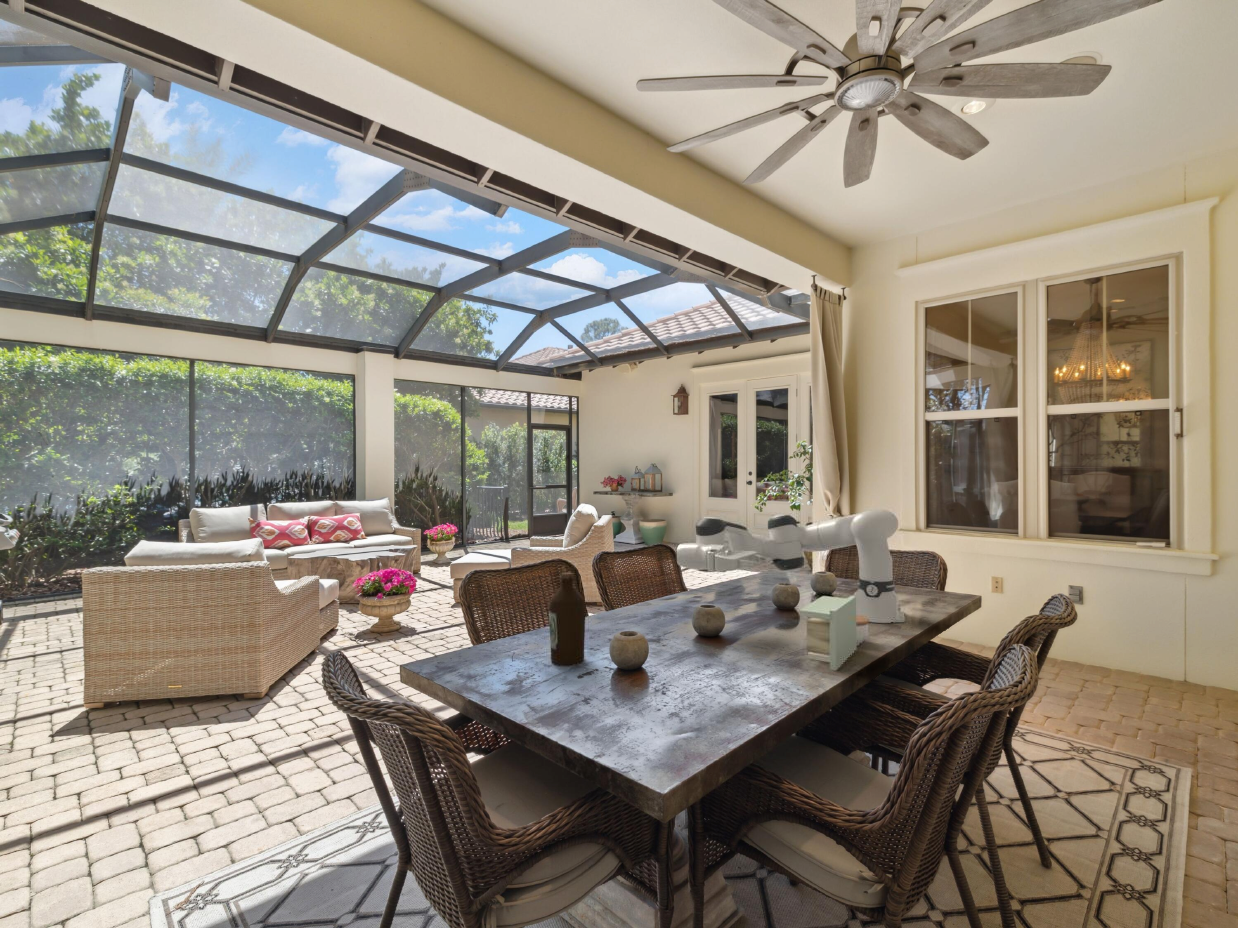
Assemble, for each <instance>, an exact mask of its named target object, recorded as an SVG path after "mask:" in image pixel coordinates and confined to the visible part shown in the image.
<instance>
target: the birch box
mask: <svg viewBox="0 0 1238 928" xmlns="http://www.w3.org/2000/svg"><path fill="white" fill-rule="evenodd" d="M809 652H813V653H819V654H824V655H830V620H828V619H821V618H814V617H810V618H809V619H808V620H806V655H808V653H809Z"/></svg>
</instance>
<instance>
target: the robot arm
mask: <svg viewBox="0 0 1238 928" xmlns="http://www.w3.org/2000/svg"><path fill="white" fill-rule="evenodd" d="M799 524H801V522H800V521H798V520H797V519H796V518H795V517H793V516H792V515H789V514H783V513H782V514H776V515H774V516H773V517H771V518H770V519H768V520H767V530H768V535H769V537H767V536H765V535H762V534H758V533H757V534H756V533H750V532H749V530H748V528H747V527H746V526H744V525H742V524H738V523H733V522H730V521H726V520H722V519H721V518H718V517H715V516H703V517H701V518H700V519H699V520H698V521H697V522H696V524H695V534H696V535H695V536H696V537H695V538H696V539H695V540H696V541H695V542H688V543H687V542H685V543H684V542H683V543H680V544H678V546H677V547H676V550H675V552H676V553H675V560H676V563H677V565H678V566H679V567H683V568H685V569H690V570H696V571H699V572H706V573H726V572H732V571H737V570H739V569H742V568H754V567H756V564H757V563H760V564H766V563H768V560H771V561H772V562H771V563H770V564H771V565H774V567H776V569H778V570H779V571H782V572H785V573H786V572H788V573H792V572H796V571H799V570H800V569H801V568H803V567H804V565H805V557H804V552H823V551H824V552H825V551H830V550H837V549H841V548H847V547H852V546H856V549H857V554H858V571H859V572H858V575H859V576H858V578H857V587H858V589H857V590H856V591H855V592H854V593H853V596H856V615H861V616H864V617H866V618H868V619H869V623H877V624H879V623H880V624H889V623H890V624H892V623H891V622H893V623H906V619H905V611H904V610H902V609H901V607H900V606H899V604H898V600H899V598H898V596H897V594H896V592H895V585H896V584H895V581H894V577H893V573H894V572H893V557H892V554H891V551H890V549H889V544H888V543H889V542H888V539H889V538H891V537H892V536H893V535H894V534H895V533H896V532H897V530H898V528H899V521H898V518H897V516H896V515H895V514H894V513H893V512H891V511H889V510H886V509H882V508H878V509H872V510H866V511H865V510H864V511H862V512H860V513H856V514H855V513H854V514H850V515H845V516H838V517H835V518H831V519H826V520H822V521H818V522H814V523H811V524H808V525H805V526H799ZM725 535H727V538H728V544H729V546H728V545H725ZM803 551H804V552H803Z"/></svg>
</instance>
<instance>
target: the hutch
mask: <svg viewBox="0 0 1238 928" xmlns="http://www.w3.org/2000/svg"><path fill="white" fill-rule="evenodd" d="M798 613H799V616H801V617H809V618H816V619H823V620H830V655H824V654H819V653H813V652H809V653H808V656H807V659H809V660H814V661H820V662H825V663H829V670H830V669H831V670H830V671H834V670H836V671H837V670H839V668H840V667H841V666H842V665H843V664H844V663H845V662H846V661H847V660H848V659H849V658H850V657H851V656H852V655H853V654H854V653H855V652H856V651H858V650H857V649H858V648H857V646H858V645H857V635H856V596H854V595H850V596H849V597H847V598H844V597H835V596H827V595H822V596H821V597H819V598H817V599H815V600H813V601H812V602H810V603H809V604H807V605H806V606H804V607H802V608H801V609H799V612H798ZM855 650H856V651H855ZM854 651H855V652H854ZM852 653H853V654H852ZM850 655H851V656H850ZM848 657H849V658H848ZM847 658H848V659H847ZM845 660H846V661H845ZM843 662H844V663H843ZM841 664H842V665H841Z"/></svg>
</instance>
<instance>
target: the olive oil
mask: <svg viewBox="0 0 1238 928" xmlns="http://www.w3.org/2000/svg"><path fill="white" fill-rule="evenodd" d="M573 574H574V573H573V572H571V571H568V572H562V573H561V577H560V587H559V588H558V589H557V591H556V592H555V593H554V594H553V595H552V596H551V598H550V601H549V604H548V621H549V623H548V625H549V641H550V661H551V663H552V664H554V665H556V664H557V665H556V666H562V665H563V666H564V667H566V666H568V667H569V666H575V665H579V664H582V663H583V662H584V661H585V637H586V635H585V633H586V613H587V612H586V611H587V608H586V607H587V604H586V602H585V599H584V596H582V594H581V593H580V592H579V591H578V590H577V589H576V588H575V586H574V580H573V579H574V578H573ZM581 662H582V663H581Z"/></svg>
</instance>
